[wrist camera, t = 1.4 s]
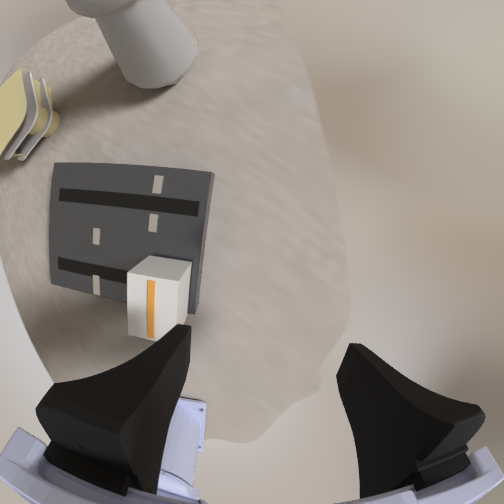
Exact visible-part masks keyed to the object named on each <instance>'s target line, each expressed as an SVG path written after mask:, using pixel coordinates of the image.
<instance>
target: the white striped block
mask: <svg viewBox="0 0 504 504" xmlns="http://www.w3.org/2000/svg"><path fill="white" fill-rule="evenodd" d="M191 264H192V262H189V261H182V260H176V259H169V258H163V257H156V256H150V255H149V256H148V257H147V258H145V259H144V260H143V261H141V262H140V263H139V264H138V265H136V266H135V267H134V268H132V269H131V270H130V271H128V272H127V314H128V335H131V336H135V337H140V338H144V339H149V340H154V341H158V340H159V339H160V338H162V337H163V336H164V335H165V334H166V333H167V332H169V331H170V330H171V329H172V328H173V327H174V326H175V325H177V324H182V325H184V322H185V320H186V317H187V310H188V297H189V285H190V274H191Z"/></svg>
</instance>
